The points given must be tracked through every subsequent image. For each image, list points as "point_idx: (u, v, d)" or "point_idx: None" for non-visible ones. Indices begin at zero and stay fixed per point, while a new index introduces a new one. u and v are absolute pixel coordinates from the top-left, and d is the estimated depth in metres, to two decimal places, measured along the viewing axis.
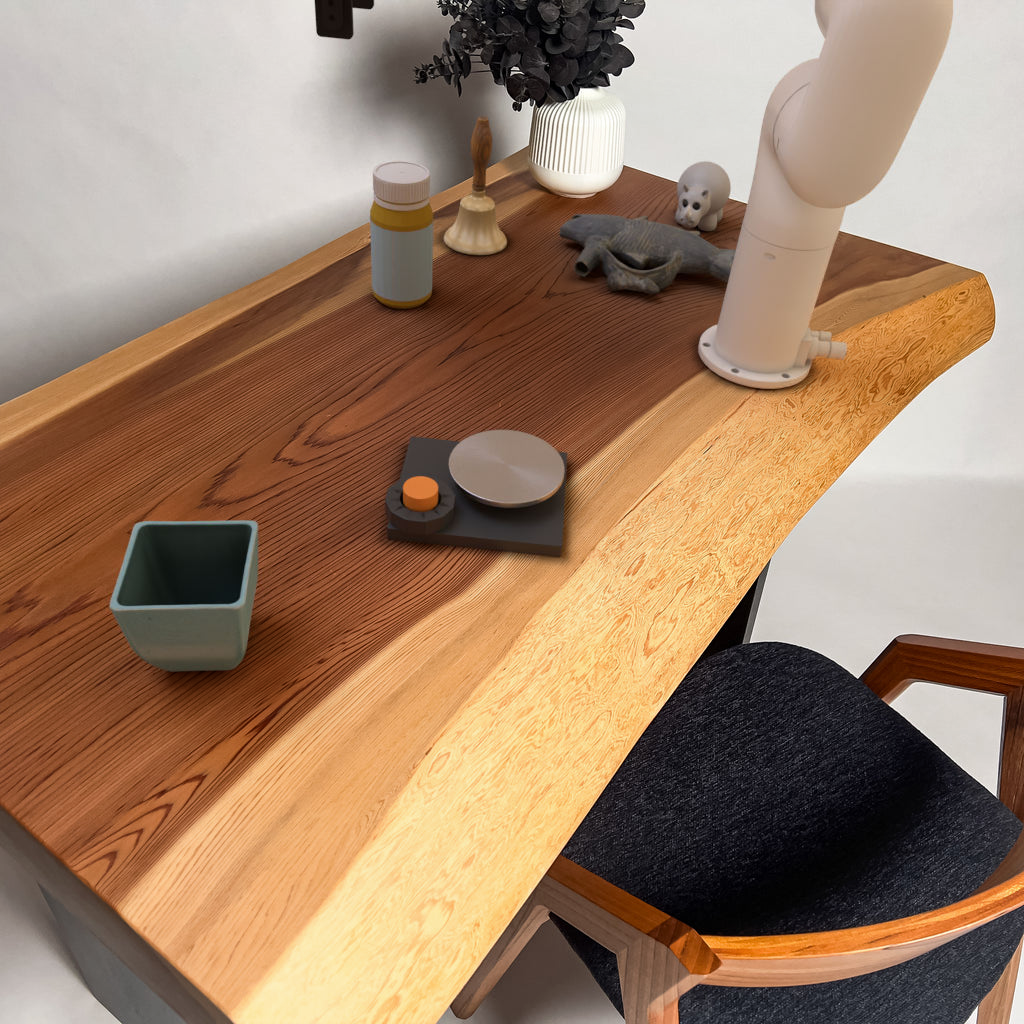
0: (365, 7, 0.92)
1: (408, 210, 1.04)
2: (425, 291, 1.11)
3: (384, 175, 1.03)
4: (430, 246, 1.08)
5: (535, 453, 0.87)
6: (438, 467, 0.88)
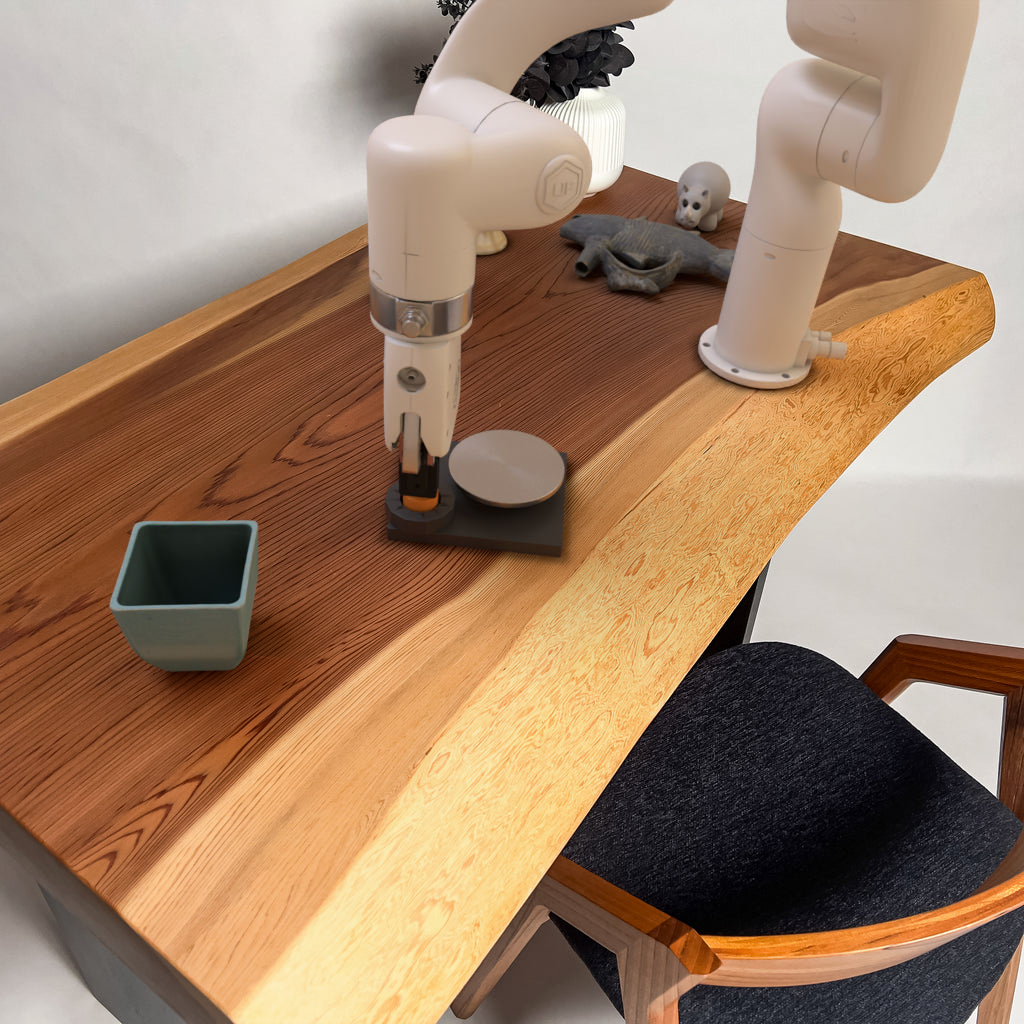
0: None
1: None
2: None
3: None
4: None
5: (535, 453, 0.87)
6: None
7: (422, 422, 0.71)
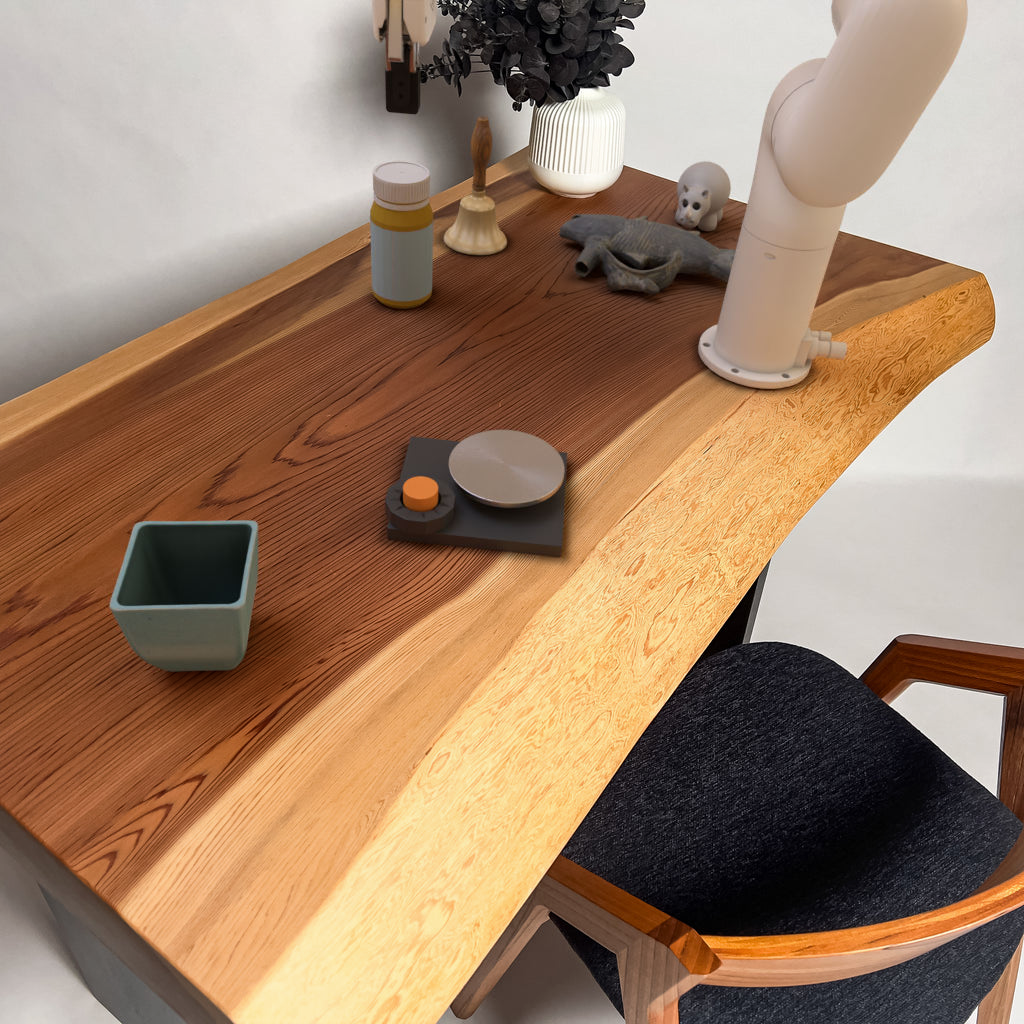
0: None
1: (408, 210, 1.04)
2: (425, 291, 1.11)
3: (384, 175, 1.03)
4: (430, 246, 1.08)
5: (535, 453, 0.87)
6: (438, 467, 0.88)
7: (404, 3, 0.84)
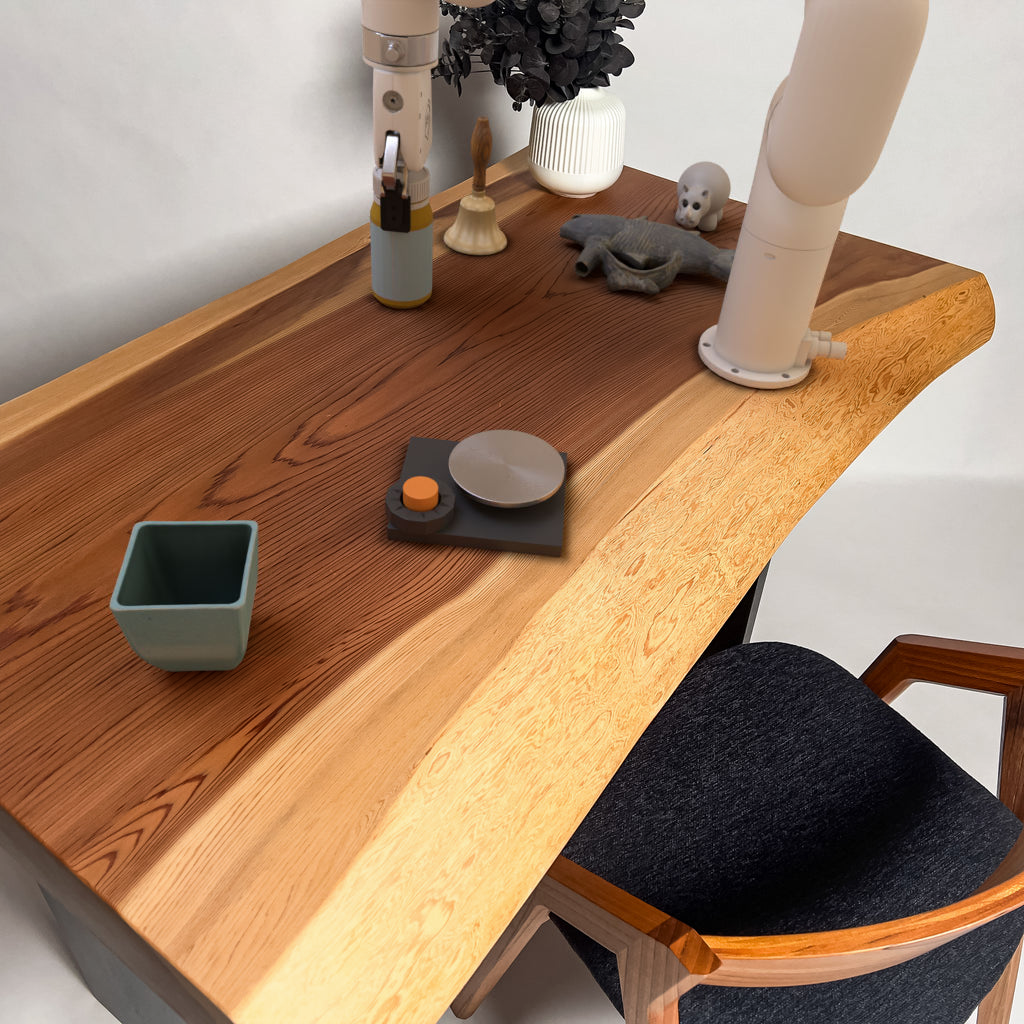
0: None
1: None
2: (425, 291, 1.11)
3: None
4: (430, 246, 1.08)
5: (535, 453, 0.87)
6: (438, 467, 0.88)
7: (401, 138, 0.96)
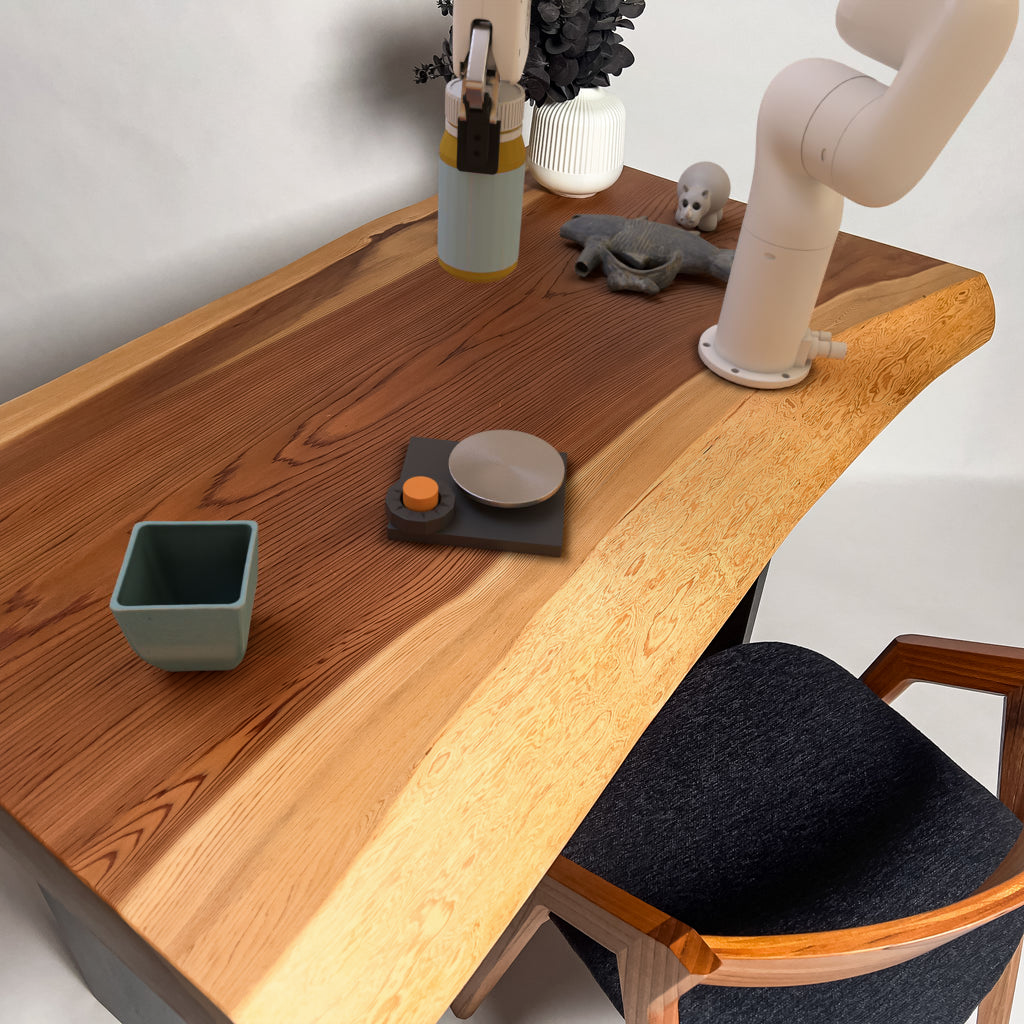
0: None
1: None
2: (510, 259, 0.81)
3: None
4: (520, 196, 0.79)
5: (535, 453, 0.87)
6: (438, 467, 0.88)
7: (494, 31, 0.67)
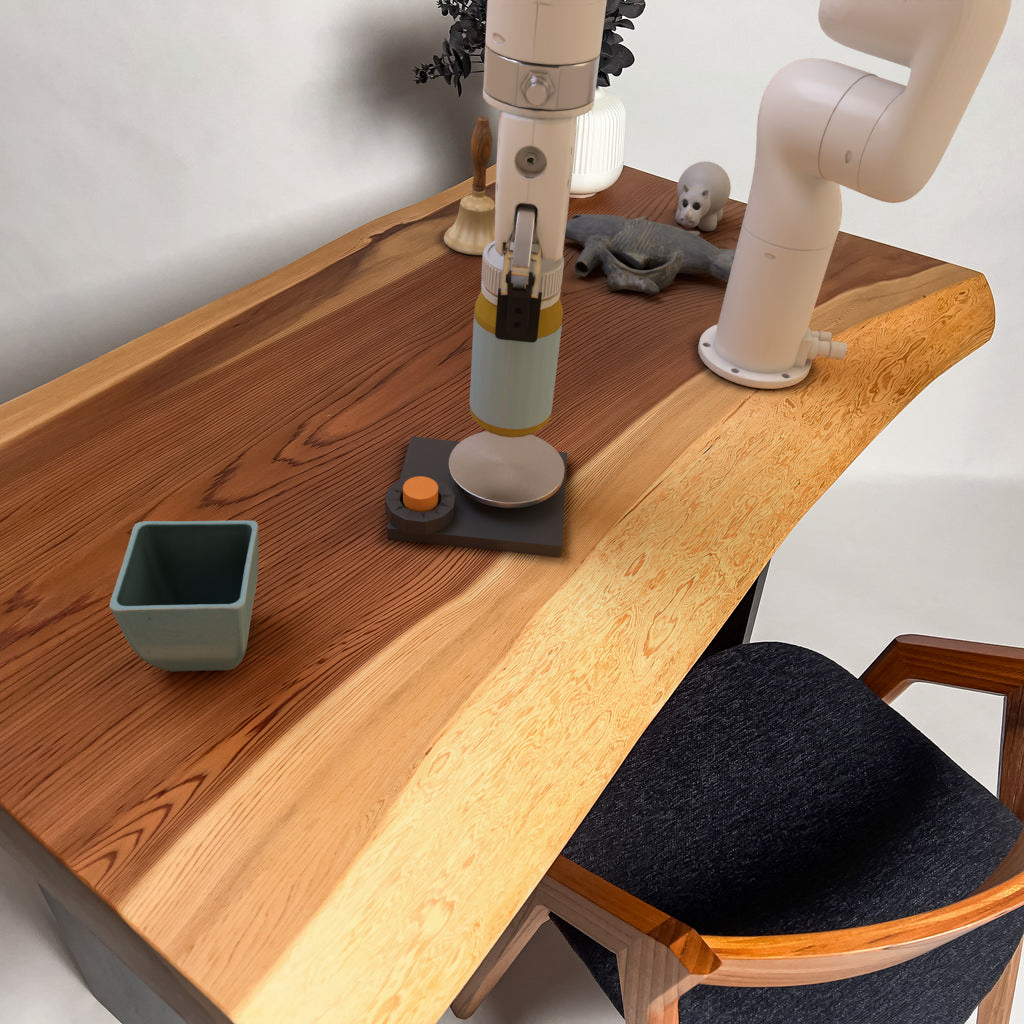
0: None
1: None
2: (545, 414, 0.80)
3: (499, 260, 0.72)
4: (557, 355, 0.77)
5: (535, 453, 0.87)
6: (438, 467, 0.88)
7: (539, 215, 0.65)
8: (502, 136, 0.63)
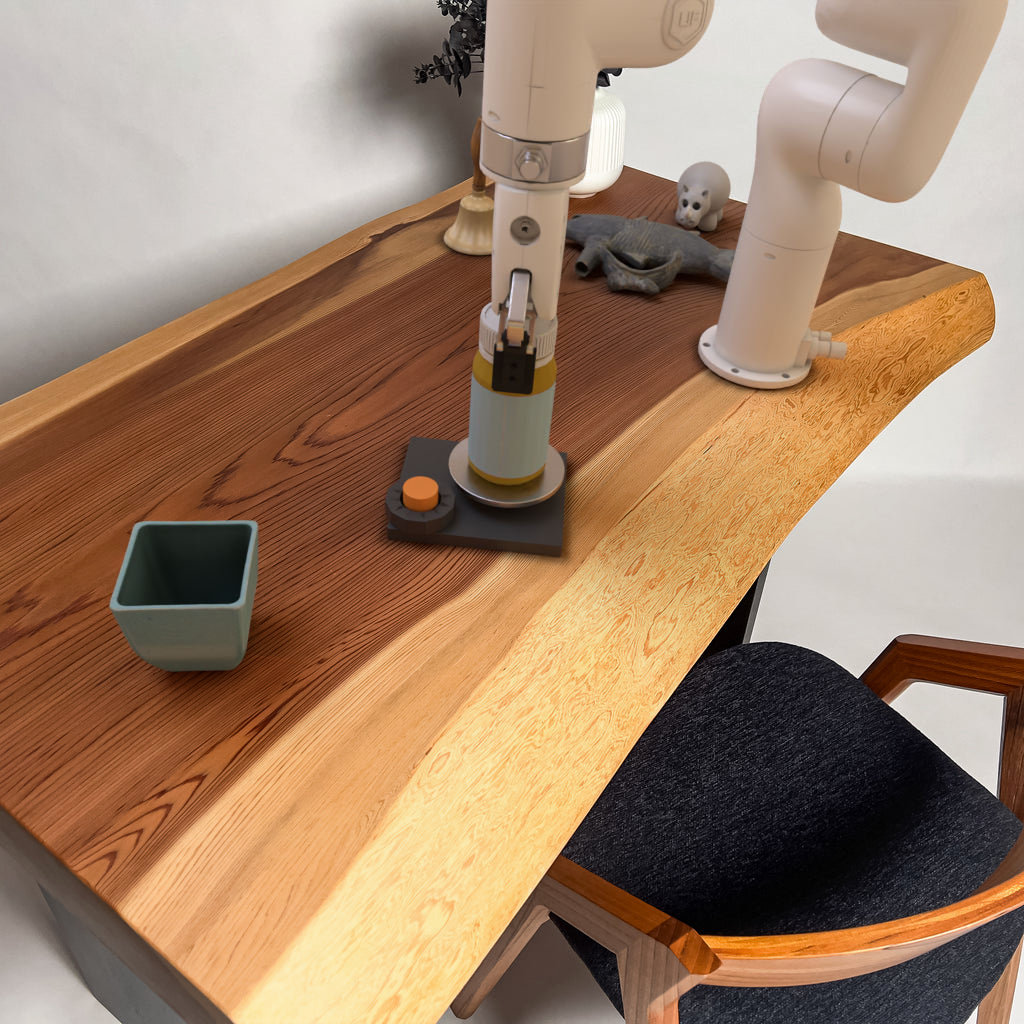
0: None
1: None
2: (540, 463, 0.83)
3: (496, 322, 0.75)
4: (551, 408, 0.80)
5: None
6: (438, 467, 0.88)
7: (533, 279, 0.68)
8: (498, 206, 0.66)
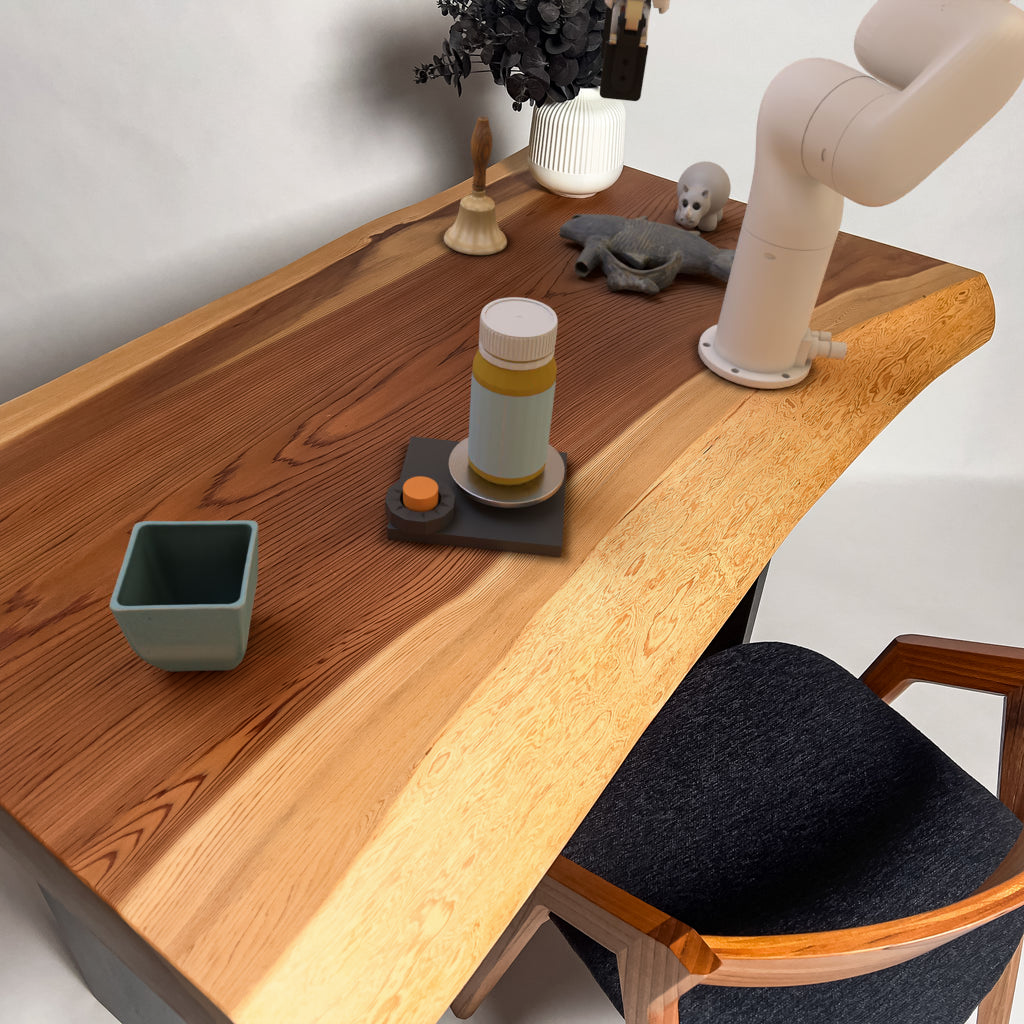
0: None
1: (528, 369, 0.76)
2: (540, 463, 0.83)
3: (496, 322, 0.75)
4: (551, 408, 0.80)
5: None
6: (438, 467, 0.88)
7: None
8: None
